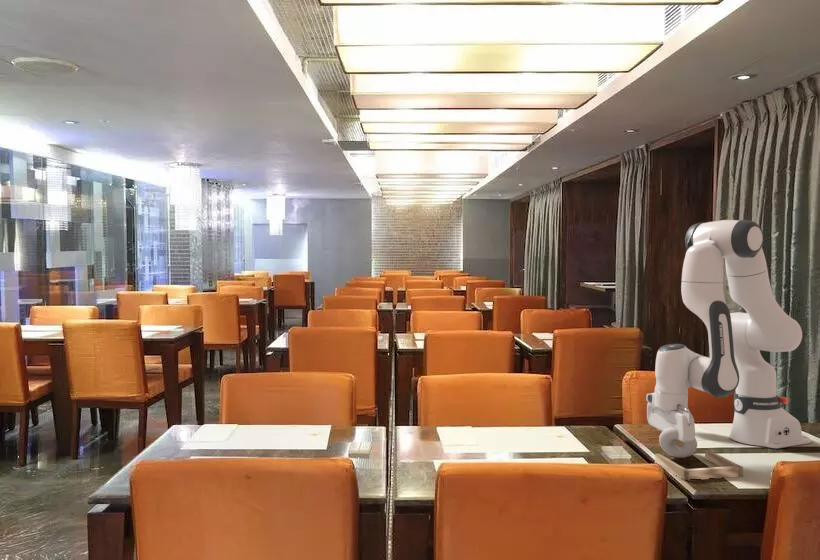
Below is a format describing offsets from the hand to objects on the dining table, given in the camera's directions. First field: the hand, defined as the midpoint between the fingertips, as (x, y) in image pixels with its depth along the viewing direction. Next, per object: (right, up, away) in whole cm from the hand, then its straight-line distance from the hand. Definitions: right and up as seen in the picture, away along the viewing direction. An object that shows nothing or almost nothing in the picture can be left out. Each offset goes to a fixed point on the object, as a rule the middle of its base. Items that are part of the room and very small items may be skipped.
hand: (669, 448), depth 187 cm
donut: (+2, -2, -3) cm, 3 cm away
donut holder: (+3, -2, -12) cm, 12 cm away
